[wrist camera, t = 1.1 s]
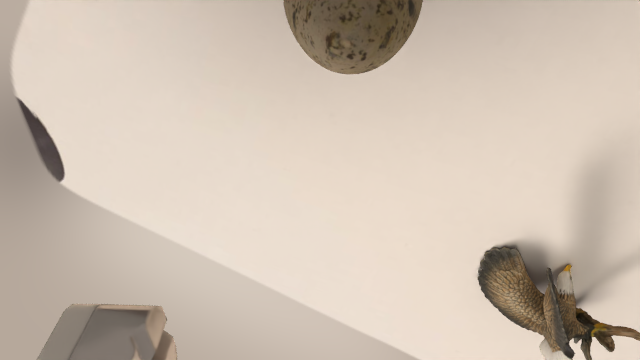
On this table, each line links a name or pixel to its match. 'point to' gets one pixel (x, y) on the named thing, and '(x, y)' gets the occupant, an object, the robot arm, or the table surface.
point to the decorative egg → (352, 31)
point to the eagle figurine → (543, 306)
